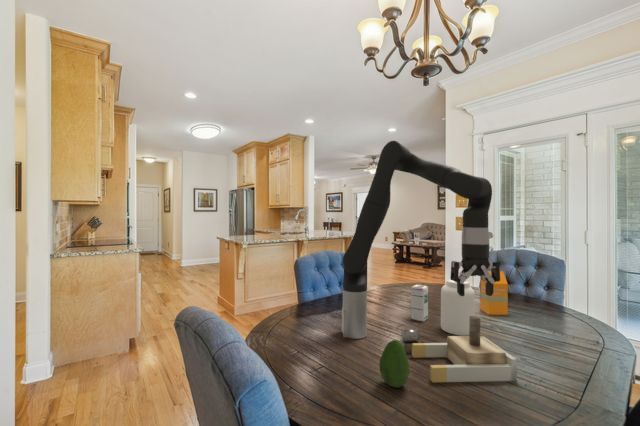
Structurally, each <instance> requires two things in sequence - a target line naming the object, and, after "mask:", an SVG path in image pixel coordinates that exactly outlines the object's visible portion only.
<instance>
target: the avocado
mask: <svg viewBox="0 0 640 426" xmlns="http://www.w3.org/2000/svg"><path fill="white" fill-rule="evenodd" d="M409 362H410V361H409V359H408V356H407V353H405V350H404V347H403V345H402V344H401V343H400V340H398V339H392V340H390V341H389V342H387V344H386V345H385V347H384V349H383V351H382V354H381V357H380V359H379V366H378V367H379V373H380V377H381V378H382V379H383V380H384V382H385V383H386V384H387V385H389V386H390V387H393V388H396V389H398V388H402V387H403V386H404V385H406V384H407V382H408V379H409V376H410V371H411V370H410V363H409Z"/></svg>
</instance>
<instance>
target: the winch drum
mask: <svg viewBox="0 0 640 426" xmlns="http://www.w3.org/2000/svg"><path fill="white" fill-rule="evenodd" d="M399 342H400V343H401V344H402V345H403V347H404V350H405V353H406V354H409V353H410V354H412V343H422V342H421V333H420V330H419V328H403V329H402V330H401V338H400V340H399Z"/></svg>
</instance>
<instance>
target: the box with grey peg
mask: <svg viewBox="0 0 640 426" xmlns="http://www.w3.org/2000/svg"><path fill="white" fill-rule="evenodd" d="M483 337H484V336H483ZM483 337H482V336H481V316H476V315H475V316H470V317H469V335H468V336H460V335H451V336H450V335H447V337H446V338H447V339H446V343H447V357H446V358H447V359H448V360H449V361H450V362H451V363H452V365H472V364H506V354H505V352H506V351H505V350H504V351H505V352H504V351H502V350H503V349H502V348H501V349H502V350H501V349H499V348H498V347H499V346H498V347H496V346H495V345H496V344H495V345H493V344H492V343H493V342H492V341H491V342H492V343H491V342H489V341H490V340H489V339H488V340H489V341H488V340H486V339H487V338H486V337H485V338H486V339H485V338H483Z"/></svg>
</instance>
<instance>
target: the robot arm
mask: <svg viewBox="0 0 640 426" xmlns="http://www.w3.org/2000/svg"><path fill="white" fill-rule="evenodd" d="M395 171H399V172H403V173H408V174H411V175H415V176H418V177H420V178H422V179H425V180H427V181H429V182H431V183H433V184H435V185H437V186H439V187H441V188H443V189H447V190H449V191H451V192H453V193H454V194H456V195H457V196H460V197H461V198H463V199H466V200H468V201H467V207H466V208H465V209H464V210H463V212H462V230H461V261H456V260H452V261H451V265H450V278H449V279H451V280H453V281H455V282H457V293H458V294H459V295H460V296H464V295H465V284H463V283H464V282H465V281H467V280H468V279H469V278H470V277H477V276H478V277H482V276H483V277H484V279H485V280H486V281H487V282H486V295H488V296H492V294H493V284H494V282H497V281H498V282H499V281H500V271H501V269H500V268H501V267H500V262H499V261H496V260H491V261H490V260H489V258H490V232H489V231H490V230H489V211H490V208H491V207H490V206H491V202H492V196H493V187H492V184H491V182H490V180H488V179H486V178H485V177H480V176H475V175H472V174H469V173H466V172H463V171H461V170H460V169H458V168H456V167H454V166H451V165H448V164H445V163H442V162H438V161H433V160H427V159H424V158H422V157H419V156H418V155H416V154H415V153H414V152H412V151H410V149H409V148H408V147H406V146H405V145H404V144H403V143H401V142H400V141H397V140H390V141H388V142H387V143H386V144H385V145H383V148H382V150H381V152H380V155H379V158H378V162H377V166H376V169H375V173H374V176H373V180H372V181H371V184H370V187H369V190H368V193H367V195H366V197H365V200H364V202H363V204H362V206H361V210H360V212H359V217H358V221H357V222H356V223H357V224H356V228H355V232H354V234H353V237H352V239H351V241H350V243H349V245H348V248H347V249H346V250H345V253H343V257H342V265H343V276H342V277H343V278H342V308H341V334H342V336H343V338H348V339H352V340H353V339H354V340H359V339H363V338H366V337H367V332H368V329H367V325H368V324H367V322H368V314H367V313H368V259H369V255H370V251H371V249H372V246H373V245H372V244H373V243H374V240H375V238H376V236H377V234H378V232H379V231H380V230H381V227H382V225H383V223H384V220H385V218H386V216H387V213H388V210H389V208H390V205H391V185H392V178H393V176H394V173H395ZM461 268H462V269H461ZM489 268H490V270H491V275H490V273H489V272H488V270H489ZM459 269H461V270H459ZM459 271H460V272H459Z"/></svg>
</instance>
